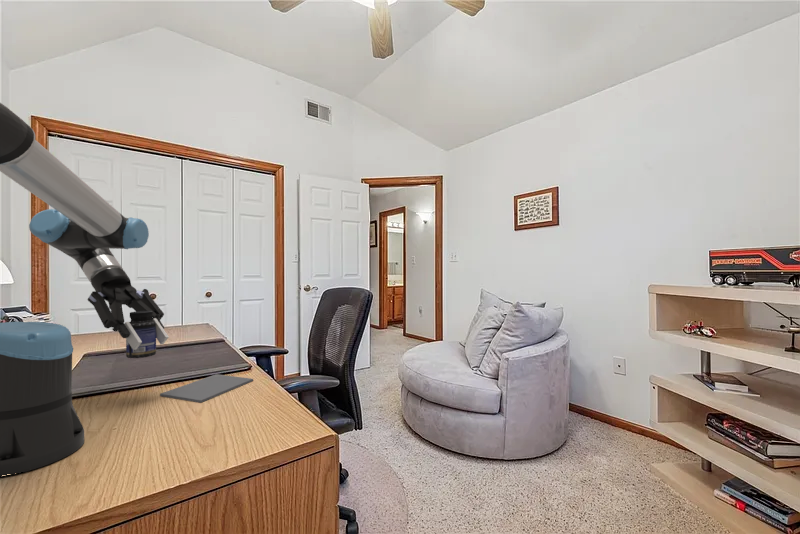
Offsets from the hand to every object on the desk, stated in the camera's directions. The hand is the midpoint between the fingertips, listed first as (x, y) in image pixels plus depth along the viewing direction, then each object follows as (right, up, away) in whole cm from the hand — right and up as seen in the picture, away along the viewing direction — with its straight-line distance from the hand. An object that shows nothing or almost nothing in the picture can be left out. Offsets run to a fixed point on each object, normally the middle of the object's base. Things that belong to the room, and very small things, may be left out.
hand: (151, 343), depth 89 cm
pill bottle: (-3, -4, +1) cm, 5 cm away
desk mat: (+8, -15, +11) cm, 20 cm away
